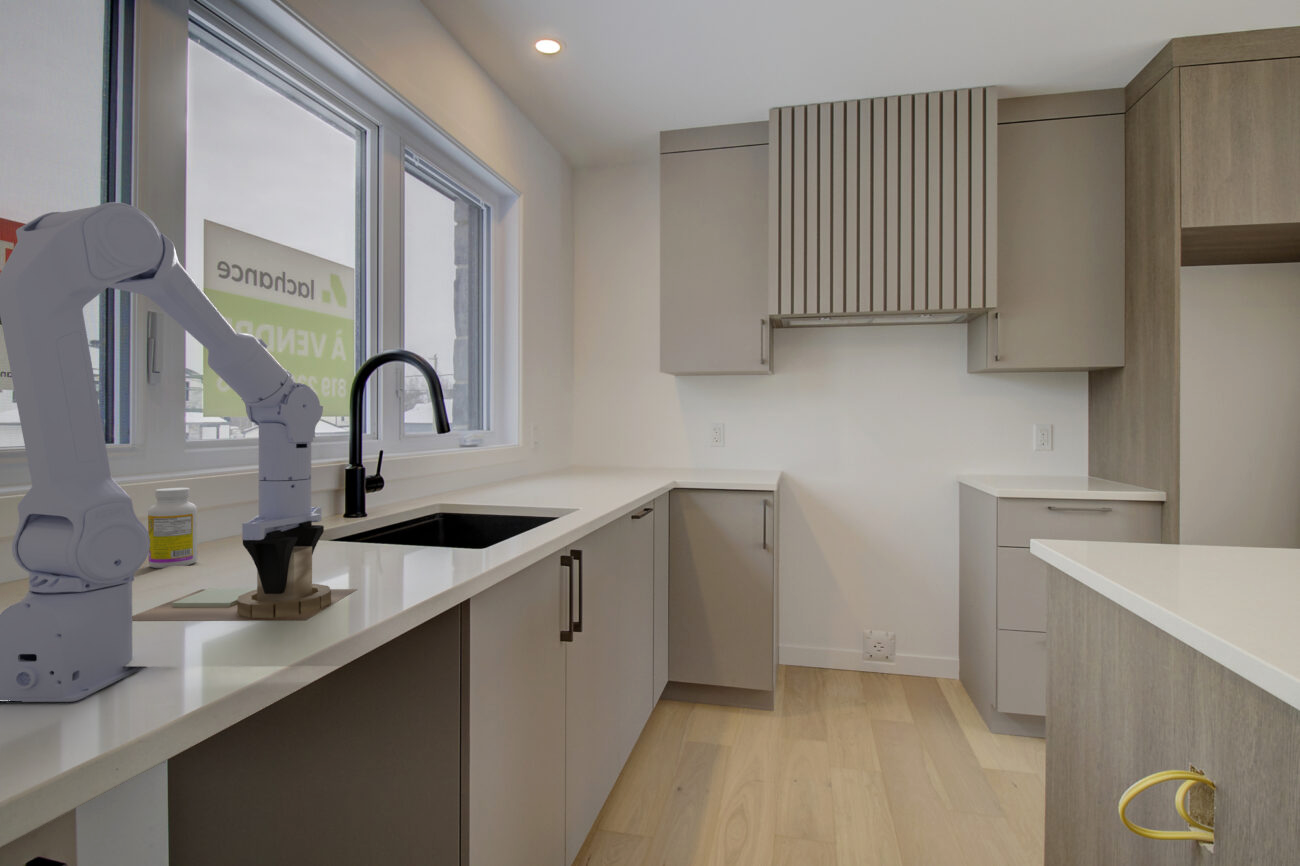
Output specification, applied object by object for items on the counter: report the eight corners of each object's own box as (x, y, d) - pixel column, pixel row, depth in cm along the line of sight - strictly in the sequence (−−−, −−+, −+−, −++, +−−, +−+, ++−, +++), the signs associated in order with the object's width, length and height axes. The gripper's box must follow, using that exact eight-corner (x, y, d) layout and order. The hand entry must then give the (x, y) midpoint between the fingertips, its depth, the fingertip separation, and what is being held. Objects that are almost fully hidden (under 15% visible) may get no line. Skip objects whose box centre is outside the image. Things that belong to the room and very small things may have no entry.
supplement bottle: (162, 561, 111) (162, 487, 111) (205, 560, 112) (204, 486, 112) (139, 570, 104) (138, 491, 104) (184, 568, 105) (184, 490, 105)
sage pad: (229, 606, 79) (229, 602, 79) (172, 606, 79) (172, 602, 79) (262, 592, 86) (262, 588, 86) (209, 592, 86) (209, 588, 86)
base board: (305, 630, 74) (305, 607, 74) (120, 631, 74) (120, 607, 74) (357, 597, 88) (357, 578, 88) (201, 598, 88) (201, 578, 88)
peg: (294, 610, 78) (294, 553, 78) (256, 610, 78) (256, 553, 78) (312, 600, 82) (312, 546, 82) (276, 600, 82) (276, 546, 82)
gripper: (286, 484, 73) (286, 604, 73) (344, 474, 87) (343, 574, 87) (223, 484, 72) (223, 604, 73) (291, 474, 87) (291, 574, 87)
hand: (285, 588), depth 80 cm, fingers closed on peg, 4 cm apart
